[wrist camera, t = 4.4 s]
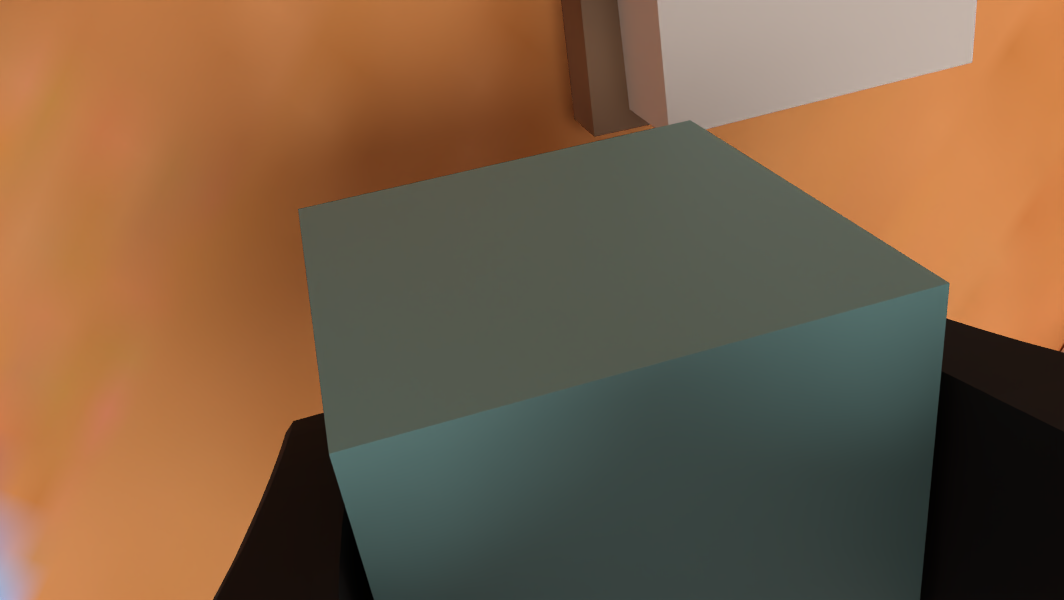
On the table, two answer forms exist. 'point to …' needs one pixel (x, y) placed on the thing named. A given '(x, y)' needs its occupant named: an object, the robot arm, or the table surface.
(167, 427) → the table surface
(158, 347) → the table surface
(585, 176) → the cube
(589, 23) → the bottom tile
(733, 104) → the top tile
